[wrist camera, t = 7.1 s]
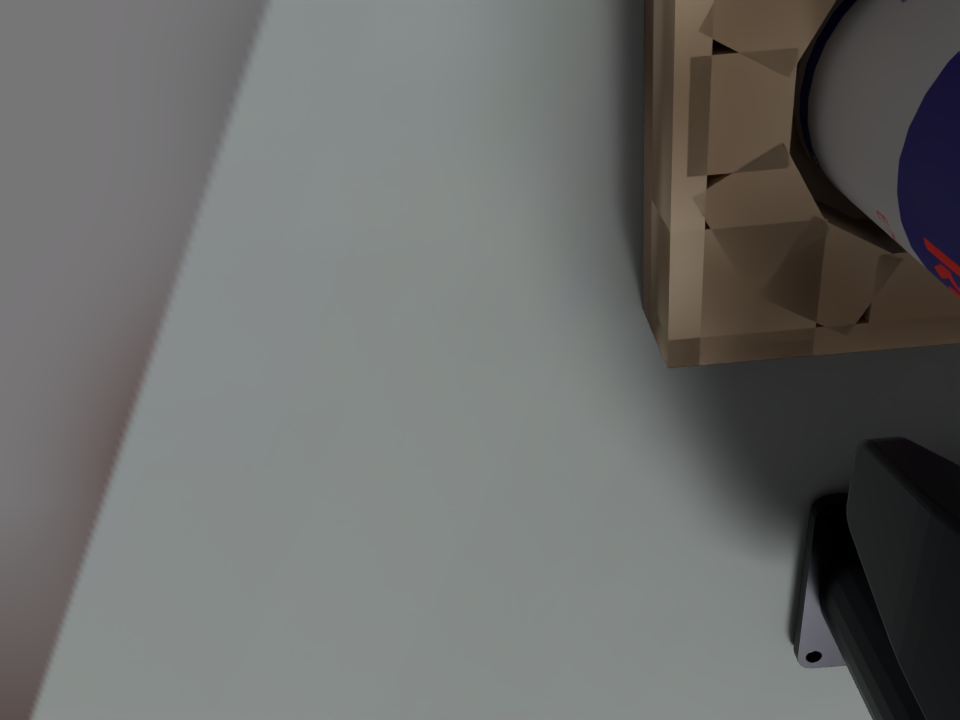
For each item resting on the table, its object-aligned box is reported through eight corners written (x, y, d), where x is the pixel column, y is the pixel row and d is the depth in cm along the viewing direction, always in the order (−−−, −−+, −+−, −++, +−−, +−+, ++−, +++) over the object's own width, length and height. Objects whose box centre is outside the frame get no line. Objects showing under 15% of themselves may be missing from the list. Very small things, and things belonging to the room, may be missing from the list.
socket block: (1086, 270, 23) (1169, 325, 20) (642, 308, 23) (667, 368, 20) (1227, -265, 17) (1366, -284, 15) (645, -209, 17) (680, -218, 15)
